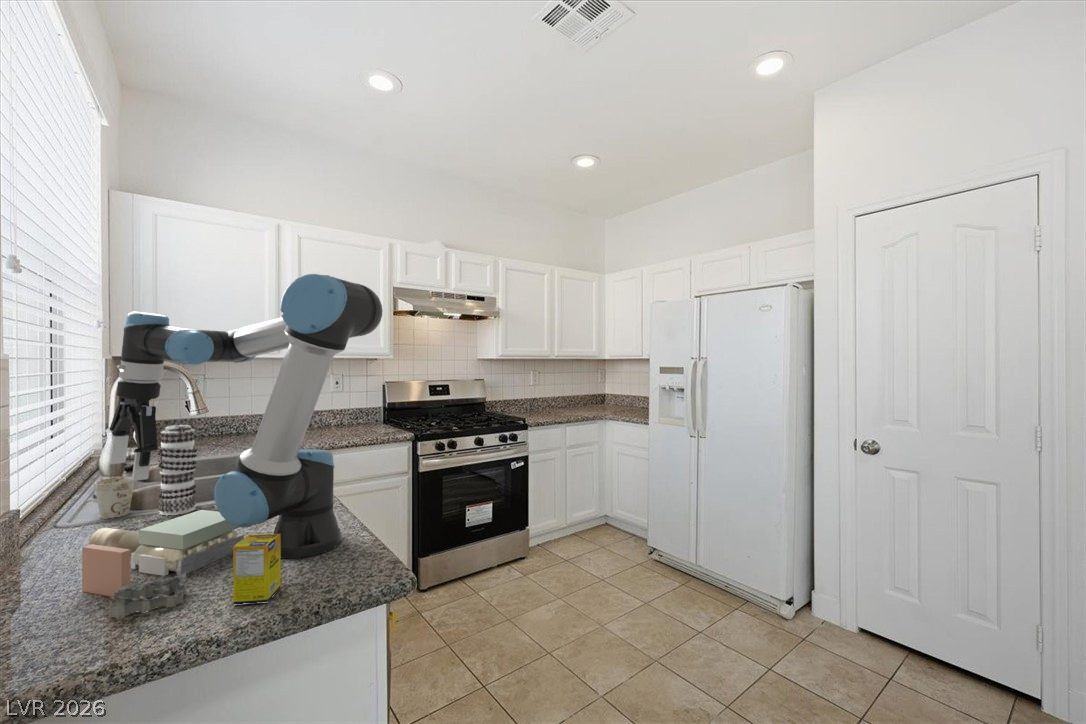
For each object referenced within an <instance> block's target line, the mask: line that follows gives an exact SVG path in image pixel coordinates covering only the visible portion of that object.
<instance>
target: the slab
mask: <svg viewBox="0 0 1086 724" xmlns="http://www.w3.org/2000/svg"><path fill="white" fill-rule="evenodd" d="M238 528H240V527H237V526H234V525H232V524H230V523H229V522H228V521H226V520H225V519H224V518H223V517H222V515H221V514H220V512H219V511H217V510H207V509H206V510H205V509H200V510H197V511H192V512H189V513H186V514H184V515H183V514H182V515H181V516H177V517H175V518H174V517H173V518H172V519H169V520H165V521H162V522H158V523H156V524H155V523H154V524H152V525H150V526H147V527H144V528H141V529H139V530H138V532H139V544H144V545H152V546H159V547H167V548H174V549H182V550H183V549H186V548H188V547H191V546H193V545H196V544H199V543H201V542H204V541H206V540H209V539H211V538H214V537H216V536H219V535H221V534H224V533H227V532H229V531H232V530H233V531H235V530H236V529H237V530H238Z"/></svg>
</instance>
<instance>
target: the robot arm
mask: <svg viewBox="0 0 1086 724" xmlns="http://www.w3.org/2000/svg"><path fill="white" fill-rule="evenodd" d="M279 309H280V312H281V313H282V315H281V317H277V318H273V319H270V320H267V321H262V322H258V323H255V324H250V325H247V326H243V327H240V328H236V329H232V330H227V331H226V330H222V331H221V330H209V329H208V330H207V329H196V328H195V329H194V328H182V327H176V326H170V318H169V316H166V315H164V314H159V313H153V312H152V313H150V312H141V311H131V312H129V313H128V314H126V315H127V316H126V320H125V325H124V327H123V336H122V347H121V354H120V356H121V359H120V364H118V365H116V369H118V370H119V373H118V377H119V378H120V379H119V380H118V381H117V385H116V396H117V397H118V403H117V407H116V409H115V412H114V415H113V417H112V420H111V423H110V426H109V431H111V434H112V441H111V450H110V459H109V464H110V465H114V464H125V463H126V462H127V453H128V444H129V437H130V436H129V435H131V430H130V429H131V428H132V426H133V430H134V433H135V434H134V435H135V440H136V445H137V448H135V449H134V450H133V453H134V460H133V467H132V468H133V469H132V473H131V475H132V476H131V477H132V480H133V481H134V482H135V481H142V480H148V479H149V478H150V477H149V476H150V469H151V463H152V462H151V461H152V452H153V451H157V450H158V435H157V424H156V423H157V421H156V413H157V406H156V405H155V406H154V405H153V406H151V405H150V401H151V400H154V399H158V398H159V397H160V392H161V387H162V385H161V384H162V383H161V382H160V381H161V380H162V379H163V375H164V366H165V360H167V361H171V362H176V363H179V364H181V365H191V366H198V365H202V364H203V363H215V362H216V363H218V362H219V363H243V362H251V361H252V360H254V359H255V357H259V356H262V355H265V354H270V353H274V352H278V351H282V350H286V352H285V355H284V358H283V360H282V363H281V365H280V369H279V372H278V375H277V376H276V380H275V382H274V386H273V388H272V391H271V393H270V396H269V400H268V402H267V405H266V407H265V410H264V413H263V415H262V416H263V417H262V419H261V422H260V424H259V427H258V430H257V433H256V435H255V438H254V441H253V444H252V446H251V447H250V448H248V449H245V450H243V452H241V454H240V456H239V458H238V461H237V464H236V467H235V468H234V470H231V471H228V472H225V473H224V474H223V475H221V476H220V477H219V479H217V482H216V484H215V486H214V490H213V492H214V494H213V496H214V503H215V506H216V508H217V510H218V512H220V514H221V515H222V517H223V518H224V519H225V520H226V521H228V522H229V523H230V524H232V525H234V526H237V527H239V528H248V527H253V526H255V525H260V524H263V523H265V522H267V521H268V520H271V519H273V518H276V517H278V519H277V521H276V525H275V528H274V531H273V534H280V539H281V558H282V559H283V558H284V559H298V558H299V559H301V558H307V557H313V556H317V555H321V554H323V552H324V553H326V552H325V551H327V552H329V551H331V550H333V549H335V548H336V547H338V546H339V545H340V544H339V543H341V542H342V532H341V529H340V527H339V524H338V520H337V518H336V515H335V511H334V480H335V479H334V477H335V476H334V475H335V474H334V473H335V471H334V469H335V464H334V455H333V453H332V452H331V451H330V450H327V449H315V448H313V449H312V448H301V447H302V444H303V440H304V438H305V436H306V433H307V430H308V428H309V425H310V422H311V419H312V418H313V414H314V411H315V409H316V406H317V403H318V401H319V397H320V395H321V392H322V390H323V386H324V384H325V381H326V379H327V376H328V373H329V371H330V368H331V366H332V362H333V361H334V357H335V356H336V355H338V354H339V353H341V352H344V351H345V349H346V347H347V344H348V342H349V339H350V338H355V337H356V338H357V337H364V336H366V335H369V334H370V333H373V332H374V330H376V329H377V328H378V326H379V325H380V323H381V322H382V318H383V305H382V302H381V300H380V298H379V296H378V294H377V293H376V292H374V291H373V289H371V288H369V287H368V286H366V285H364V284H360V283H356V282H352V281H347V280H345V279H342V278H337V277H335V276H331V275H328V274H327V275H326V274H318V273H309V274H304V275H302V276H300V277H298V278H296V279H294V280H293V281H291V283H290V284H289V285H288V286H287V287H286V289H284V292H283V294H282V296H281V300H280V308H279ZM340 541H341V542H340ZM338 544H339V545H338ZM337 545H338V546H337ZM335 546H336V547H335ZM334 547H335V548H334ZM332 548H333V549H332ZM330 549H331V550H330ZM328 550H329V551H328ZM320 553H321V554H320ZM312 555H313V556H312Z"/></svg>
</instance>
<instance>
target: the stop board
mask: <svg viewBox="0 0 1086 724" xmlns="http://www.w3.org/2000/svg"><path fill="white" fill-rule="evenodd" d="M81 548H82V555H81V558H82V561H81V562H82V563H81V566H82V567H81V568H82V571H81V574H82V575H81V577H82V578H81V592H82V591H83V592H84V593H88V594H95V595H100V596H107V597H110V598H112V596H113V595H114V593H115V592H116V591H117V590H118V589H120V588H122V587H123V586H125V585H127V584H130V572H131V553H130V549H123V548H116V547H108V546H101V545H94V544H91V545H89V544H88V545H85V546H82V547H81Z"/></svg>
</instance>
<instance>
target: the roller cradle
mask: <svg viewBox="0 0 1086 724" xmlns="http://www.w3.org/2000/svg"><path fill="white" fill-rule="evenodd" d="M166 561H167V558H164V557H157V556H150V555H143V554H141V555H139V568H138V572H139V573H142V574H150V575H156V576H163V577H166V576H167V575H169V573H170V571H169V569H168V568H167V566H166ZM131 577H132V576H131V571H130V584H131V583H132V582H131Z"/></svg>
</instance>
